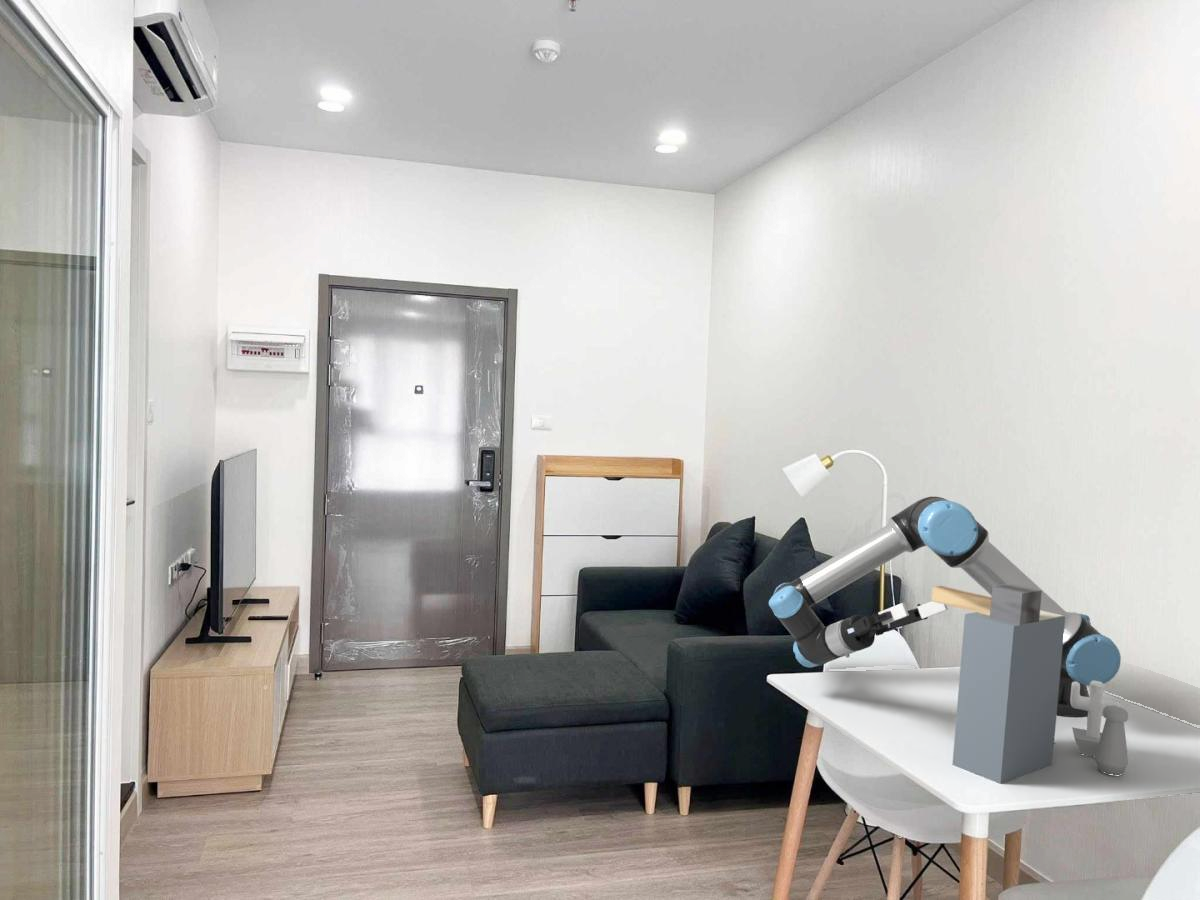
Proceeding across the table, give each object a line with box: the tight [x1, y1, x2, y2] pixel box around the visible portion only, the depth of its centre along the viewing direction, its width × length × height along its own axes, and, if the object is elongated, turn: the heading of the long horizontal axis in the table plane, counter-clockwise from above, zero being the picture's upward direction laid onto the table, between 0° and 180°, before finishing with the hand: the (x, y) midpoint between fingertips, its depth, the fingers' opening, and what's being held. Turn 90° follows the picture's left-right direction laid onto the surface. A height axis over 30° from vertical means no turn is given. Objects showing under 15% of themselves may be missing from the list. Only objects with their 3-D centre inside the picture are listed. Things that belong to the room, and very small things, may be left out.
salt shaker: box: [1094, 706, 1129, 776], centre depth 180 cm, size 6×6×13 cm
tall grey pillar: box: [952, 610, 1065, 785], centre depth 180 cm, size 19×10×30 cm, turn 126°
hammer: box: [931, 584, 1042, 625], centre depth 181 cm, size 7×20×6 cm, turn 36°
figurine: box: [1070, 681, 1122, 757], centre depth 190 cm, size 7×9×15 cm
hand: (925, 606), depth 190 cm, fingers open, 13 cm apart
